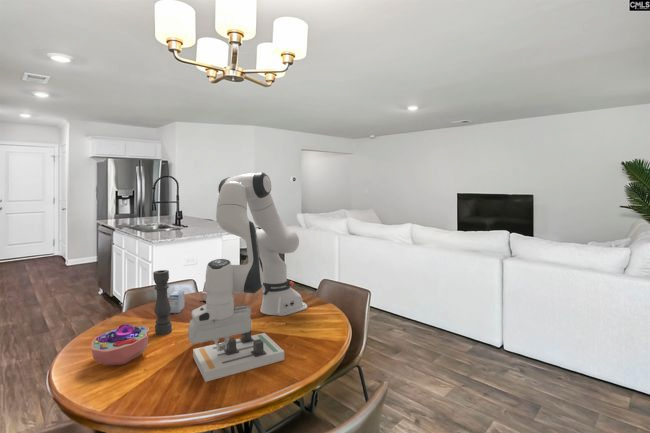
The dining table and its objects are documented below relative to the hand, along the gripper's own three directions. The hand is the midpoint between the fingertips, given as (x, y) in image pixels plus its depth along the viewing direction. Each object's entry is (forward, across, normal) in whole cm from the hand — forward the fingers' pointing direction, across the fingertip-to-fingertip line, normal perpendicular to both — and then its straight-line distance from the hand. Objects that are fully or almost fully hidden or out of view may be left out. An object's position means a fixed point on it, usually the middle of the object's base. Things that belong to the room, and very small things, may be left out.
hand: (221, 349), depth 117 cm
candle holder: (+5, +14, -38) cm, 40 cm away
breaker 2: (+1, -11, +6) cm, 12 cm away
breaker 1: (+1, -11, -6) cm, 12 cm away
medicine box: (+5, +5, -63) cm, 63 cm away
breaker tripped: (+1, -3, 0) cm, 3 cm away
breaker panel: (+4, -6, 0) cm, 7 cm away
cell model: (+5, +29, -20) cm, 35 cm away
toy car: (+5, -16, -71) cm, 73 cm away
